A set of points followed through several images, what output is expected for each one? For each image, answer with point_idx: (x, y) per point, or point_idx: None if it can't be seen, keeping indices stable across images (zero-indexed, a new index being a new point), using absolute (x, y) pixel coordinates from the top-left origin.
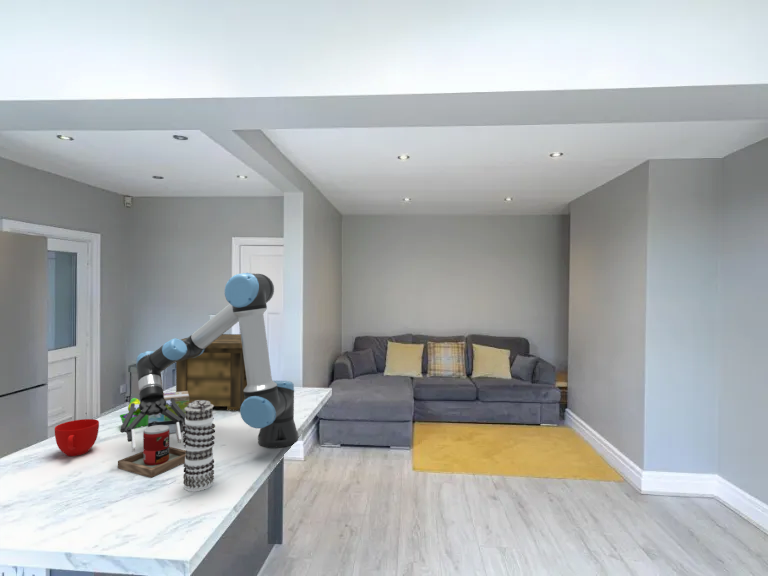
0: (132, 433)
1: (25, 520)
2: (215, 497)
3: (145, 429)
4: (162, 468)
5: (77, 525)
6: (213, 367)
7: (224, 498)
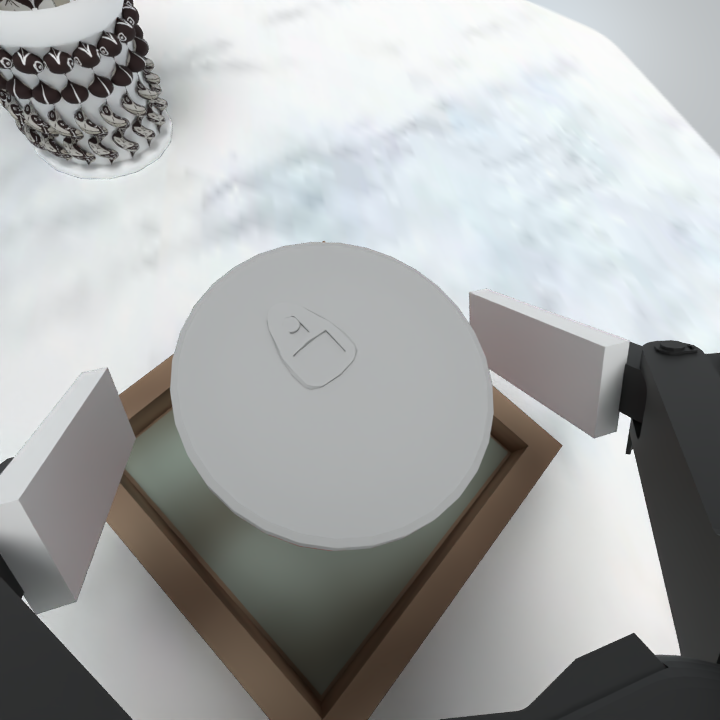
0: (578, 326)
1: (640, 113)
2: None
3: (474, 389)
4: None
5: (477, 43)
6: None
7: None
